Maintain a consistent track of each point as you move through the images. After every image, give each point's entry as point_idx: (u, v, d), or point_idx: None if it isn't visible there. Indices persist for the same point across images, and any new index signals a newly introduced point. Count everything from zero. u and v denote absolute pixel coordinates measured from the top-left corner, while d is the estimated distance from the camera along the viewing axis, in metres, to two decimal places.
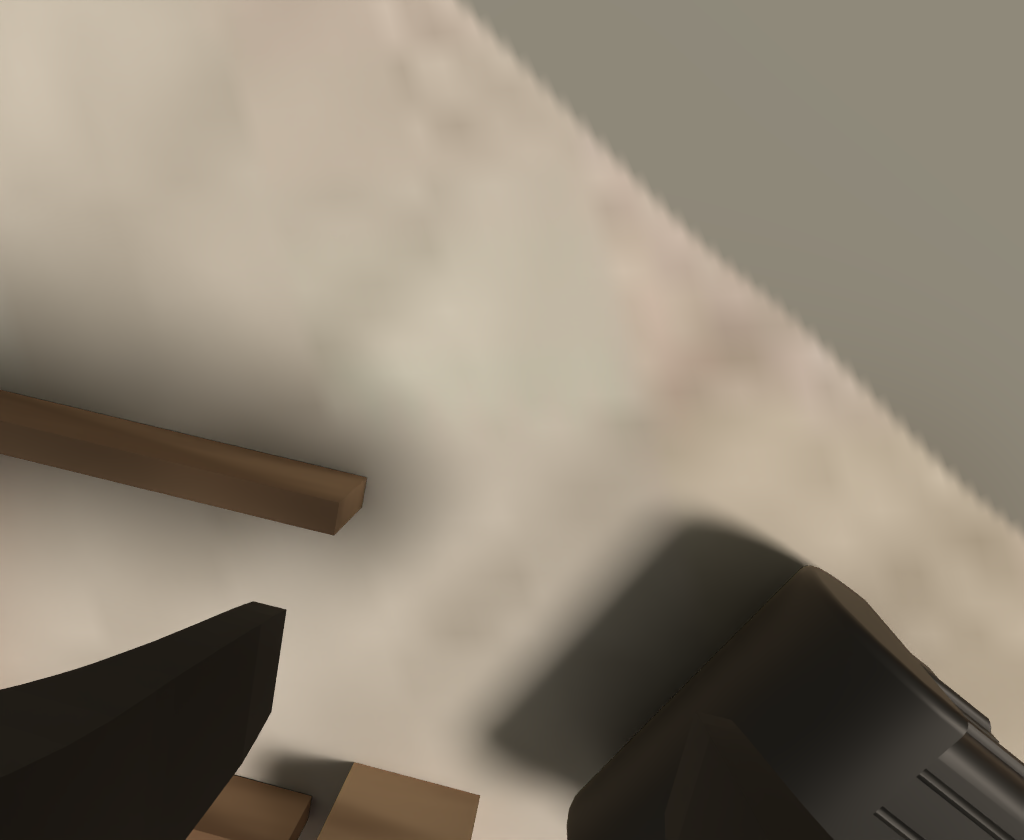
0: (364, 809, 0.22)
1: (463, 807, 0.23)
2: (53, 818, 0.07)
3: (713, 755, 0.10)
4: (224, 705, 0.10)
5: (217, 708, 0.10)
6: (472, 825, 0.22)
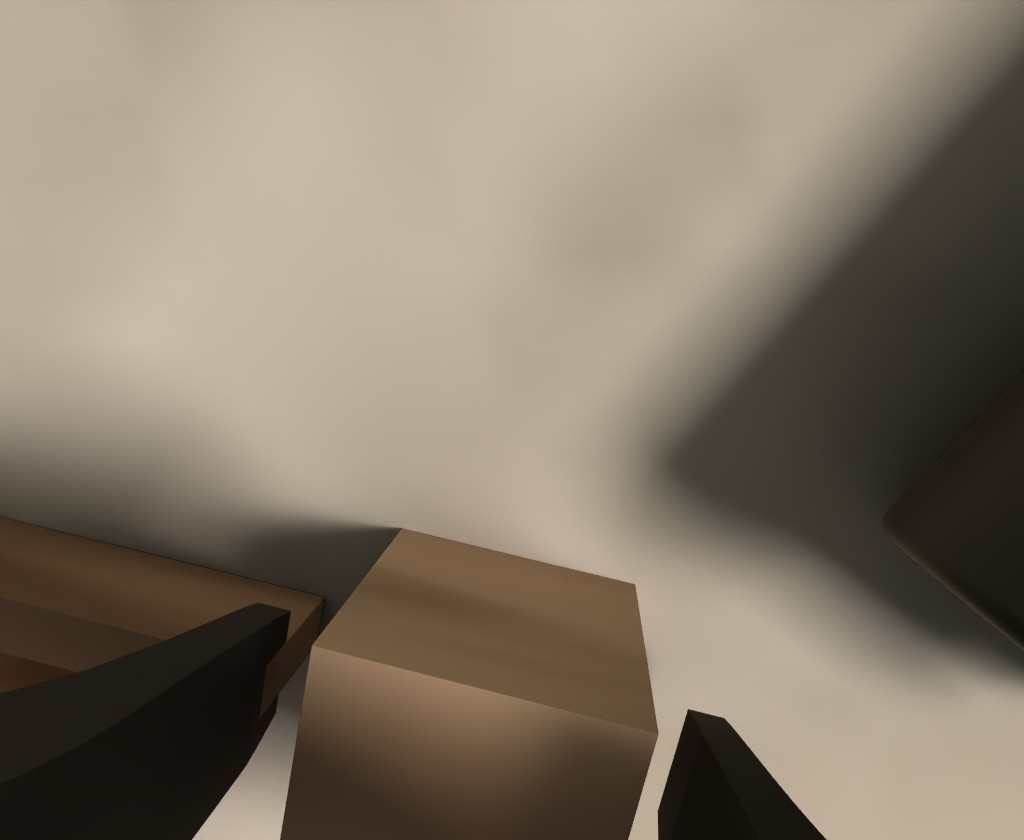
0: (429, 581, 0.11)
1: (612, 595, 0.12)
2: (60, 820, 0.07)
3: (705, 753, 0.10)
4: (229, 706, 0.10)
5: (222, 709, 0.10)
6: (637, 617, 0.12)
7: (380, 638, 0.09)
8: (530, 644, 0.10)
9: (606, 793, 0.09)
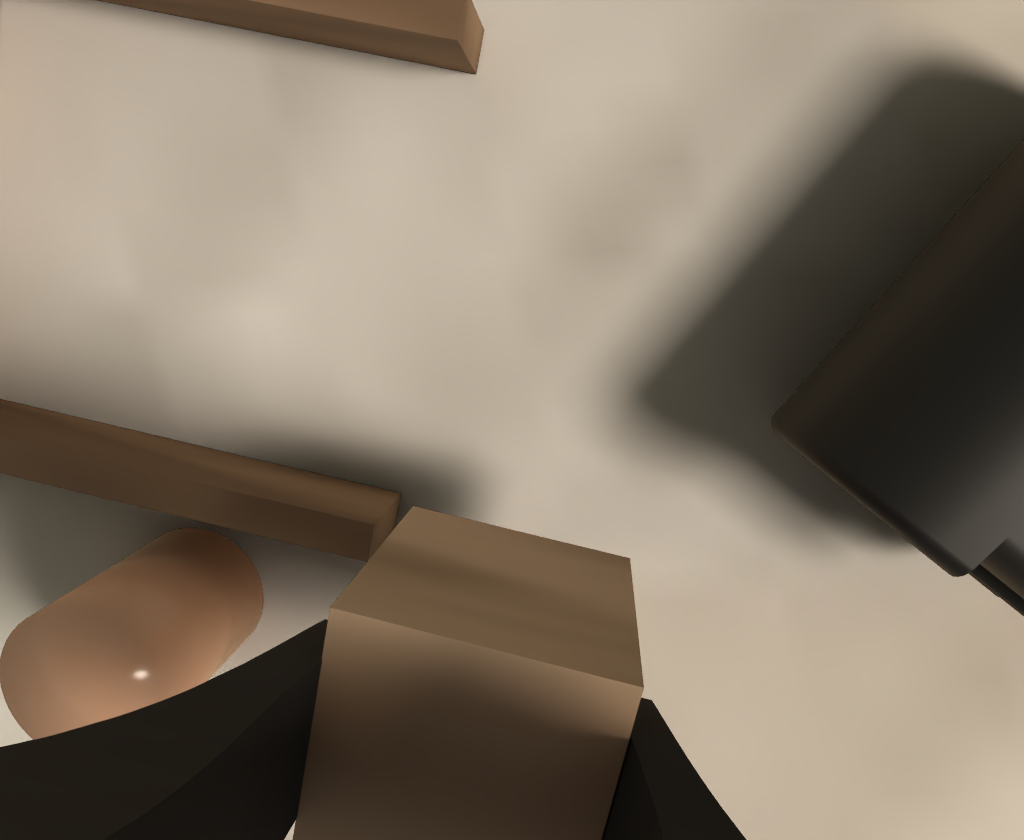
0: (437, 554, 0.12)
1: (607, 569, 0.13)
2: None
3: None
4: (307, 727, 0.10)
5: (302, 730, 0.10)
6: (630, 589, 0.12)
7: (392, 601, 0.10)
8: (529, 609, 0.11)
9: (597, 743, 0.10)
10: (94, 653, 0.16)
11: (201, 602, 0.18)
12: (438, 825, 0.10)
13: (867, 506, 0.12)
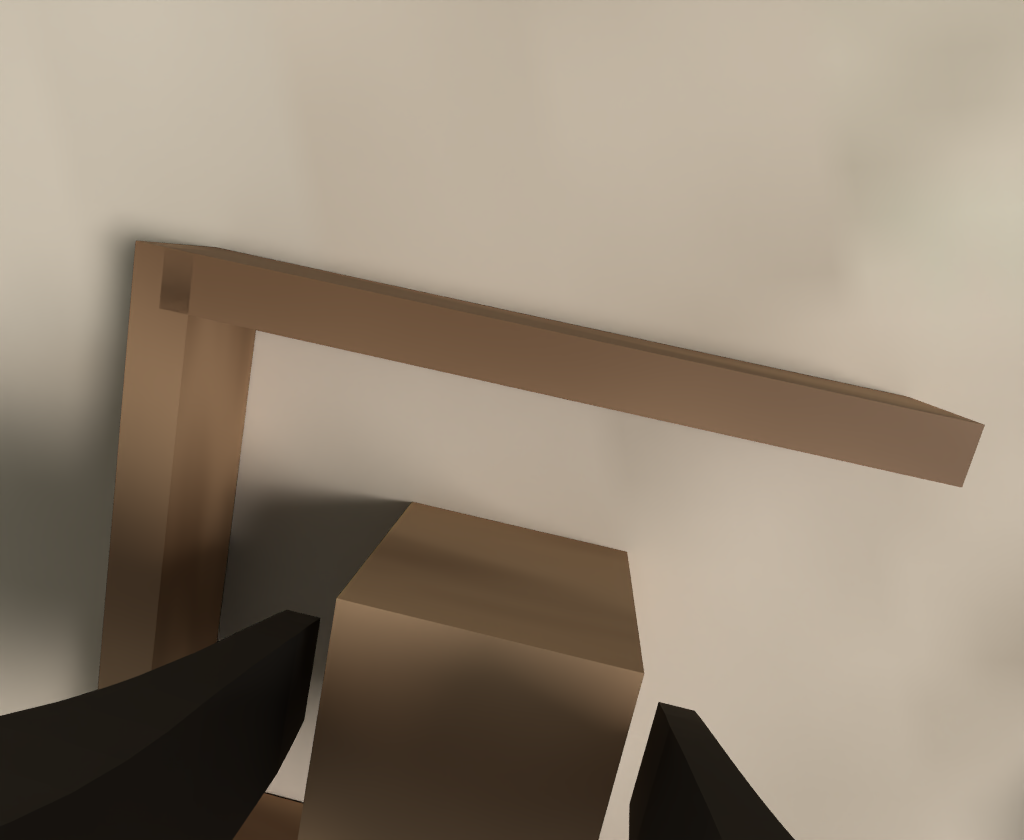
0: (438, 547, 0.12)
1: (606, 560, 0.13)
2: (111, 834, 0.07)
3: (672, 745, 0.10)
4: (263, 715, 0.10)
5: (257, 718, 0.10)
6: (628, 579, 0.13)
7: (395, 592, 0.11)
8: (530, 599, 0.11)
9: (598, 727, 0.10)
10: None
11: None
12: (442, 812, 0.11)
13: None
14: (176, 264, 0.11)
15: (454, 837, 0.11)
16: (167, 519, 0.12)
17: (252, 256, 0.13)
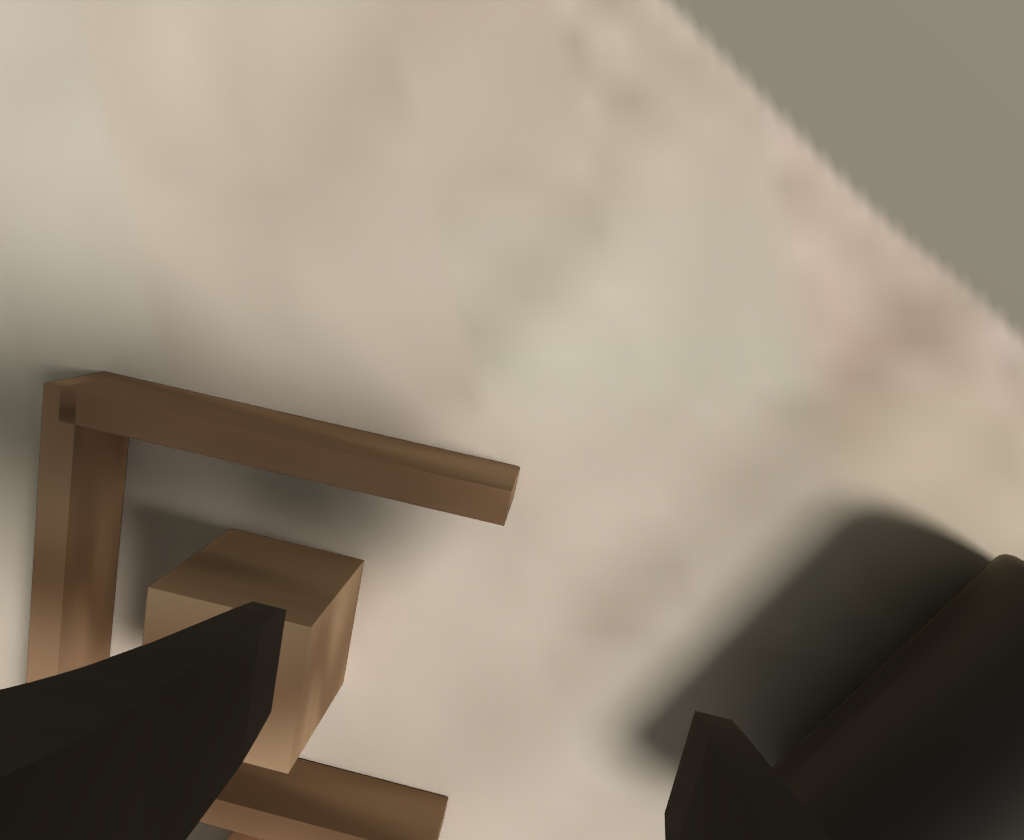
0: (231, 557, 0.21)
1: (343, 566, 0.22)
2: (53, 819, 0.07)
3: (713, 755, 0.10)
4: (224, 705, 0.10)
5: (217, 708, 0.10)
6: (348, 577, 0.21)
7: (186, 584, 0.19)
8: (270, 588, 0.20)
9: (290, 657, 0.18)
10: None
11: None
12: None
13: None
14: (67, 396, 0.20)
15: None
16: (67, 541, 0.21)
17: (124, 378, 0.22)
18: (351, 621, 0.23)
